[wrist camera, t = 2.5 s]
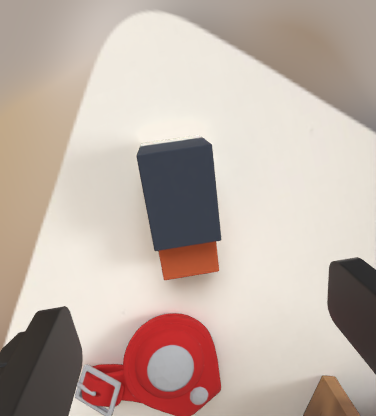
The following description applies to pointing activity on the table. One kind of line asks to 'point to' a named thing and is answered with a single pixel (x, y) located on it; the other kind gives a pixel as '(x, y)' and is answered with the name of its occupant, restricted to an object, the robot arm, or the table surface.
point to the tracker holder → (157, 369)
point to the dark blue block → (181, 204)
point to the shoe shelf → (330, 400)
